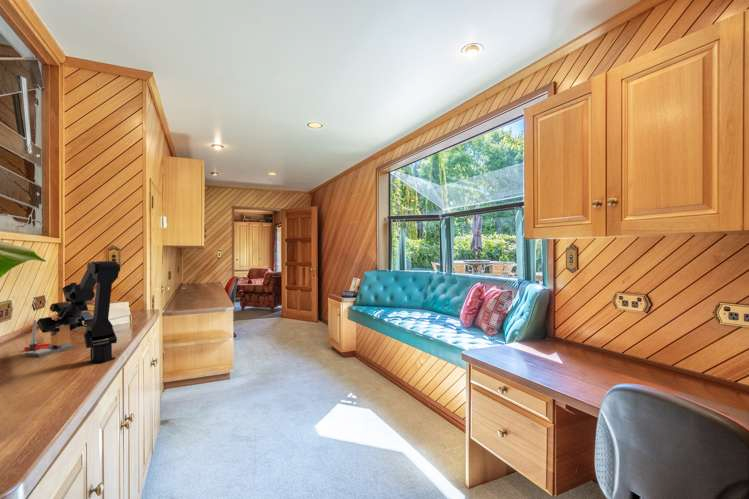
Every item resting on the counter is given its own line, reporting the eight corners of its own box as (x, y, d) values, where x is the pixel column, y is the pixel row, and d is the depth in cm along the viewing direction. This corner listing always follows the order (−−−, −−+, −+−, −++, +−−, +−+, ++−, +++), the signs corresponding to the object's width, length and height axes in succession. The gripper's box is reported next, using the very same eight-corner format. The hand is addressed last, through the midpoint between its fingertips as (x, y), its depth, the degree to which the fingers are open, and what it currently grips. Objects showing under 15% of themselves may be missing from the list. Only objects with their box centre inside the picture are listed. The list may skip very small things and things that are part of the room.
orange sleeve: (69, 343, 154) (69, 321, 154) (57, 345, 150) (57, 323, 150) (63, 342, 156) (63, 321, 156) (50, 344, 152) (50, 323, 152)
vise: (74, 347, 155) (74, 336, 155) (38, 357, 141) (38, 344, 141) (61, 346, 157) (61, 335, 157) (24, 356, 143) (24, 343, 143)
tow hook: (41, 345, 160) (21, 350, 151) (42, 317, 161) (23, 320, 151) (60, 345, 160) (41, 350, 151) (61, 317, 161) (42, 320, 152)
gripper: (89, 293, 160) (74, 316, 164) (39, 299, 143) (23, 324, 147) (101, 311, 158) (85, 334, 161) (51, 319, 140) (34, 344, 144)
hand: (58, 333), depth 153 cm, fingers closed on orange sleeve, 5 cm apart
